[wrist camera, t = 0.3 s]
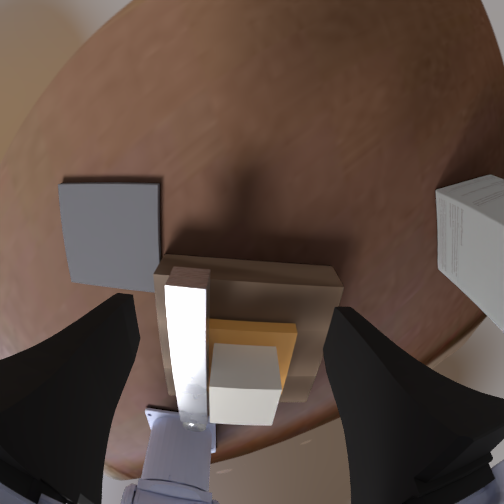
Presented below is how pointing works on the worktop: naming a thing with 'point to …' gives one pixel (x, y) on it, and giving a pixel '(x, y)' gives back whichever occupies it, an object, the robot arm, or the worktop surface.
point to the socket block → (262, 307)
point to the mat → (111, 233)
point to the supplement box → (474, 241)
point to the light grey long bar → (190, 342)
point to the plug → (248, 369)
